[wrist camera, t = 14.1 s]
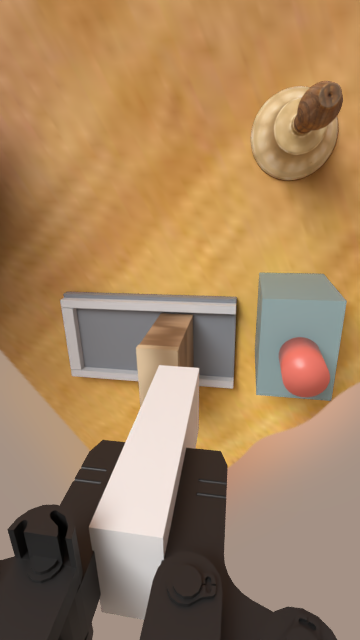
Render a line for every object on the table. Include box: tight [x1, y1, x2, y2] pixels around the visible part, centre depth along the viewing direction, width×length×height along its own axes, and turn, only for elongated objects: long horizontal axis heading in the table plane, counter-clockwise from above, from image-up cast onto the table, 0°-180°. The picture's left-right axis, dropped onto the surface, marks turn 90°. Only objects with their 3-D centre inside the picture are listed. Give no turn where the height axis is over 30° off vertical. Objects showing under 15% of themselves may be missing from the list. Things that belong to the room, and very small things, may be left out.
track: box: [60, 292, 237, 389], centre depth 45 cm, size 22×12×2 cm, turn 92°
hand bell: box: [251, 81, 343, 180], centre depth 27 cm, size 8×8×16 cm
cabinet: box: [255, 273, 347, 401], centre depth 37 cm, size 7×11×10 cm, turn 2°
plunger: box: [279, 337, 330, 397], centre depth 29 cm, size 4×4×4 cm
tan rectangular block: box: [136, 313, 194, 407], centre depth 39 cm, size 4×8×10 cm, turn 2°
